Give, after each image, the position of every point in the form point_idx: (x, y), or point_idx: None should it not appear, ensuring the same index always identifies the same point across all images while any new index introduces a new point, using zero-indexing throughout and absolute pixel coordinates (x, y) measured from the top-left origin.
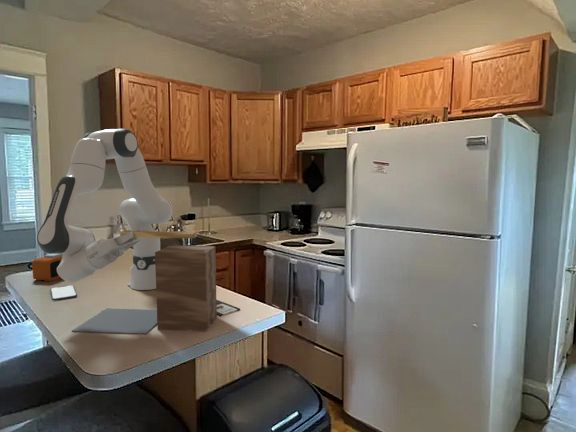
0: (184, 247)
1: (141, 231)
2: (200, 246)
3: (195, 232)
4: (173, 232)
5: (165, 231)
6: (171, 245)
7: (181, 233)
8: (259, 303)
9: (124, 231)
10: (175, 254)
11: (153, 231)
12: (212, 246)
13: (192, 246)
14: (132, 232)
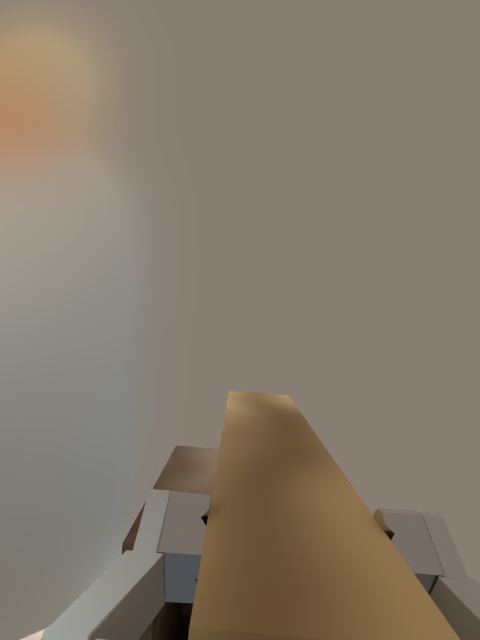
0: (208, 494)
1: (256, 488)
2: (179, 466)
3: (246, 392)
4: (265, 412)
5: (228, 424)
6: (130, 536)
7: (292, 404)
8: (28, 637)
9: (309, 624)
10: None
11: (238, 448)
12: (181, 449)
13: (177, 479)
14: (403, 513)
